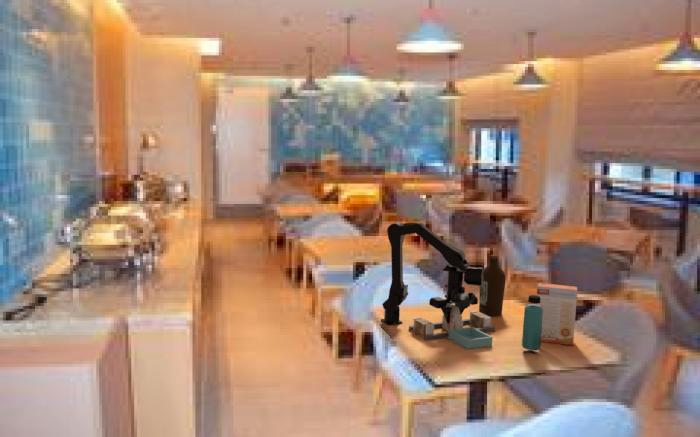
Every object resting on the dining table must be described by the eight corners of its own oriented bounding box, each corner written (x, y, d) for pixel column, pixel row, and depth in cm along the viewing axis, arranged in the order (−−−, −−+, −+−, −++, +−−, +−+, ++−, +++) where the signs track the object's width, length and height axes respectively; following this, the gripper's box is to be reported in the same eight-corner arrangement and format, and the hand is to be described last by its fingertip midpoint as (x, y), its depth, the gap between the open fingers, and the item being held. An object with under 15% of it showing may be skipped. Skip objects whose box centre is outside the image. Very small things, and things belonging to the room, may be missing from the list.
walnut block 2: (470, 325, 250) (471, 313, 249) (479, 324, 252) (479, 312, 251) (480, 330, 244) (481, 317, 244) (488, 328, 246) (489, 316, 245)
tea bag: (451, 327, 246) (452, 302, 245) (461, 332, 240) (462, 307, 239) (443, 328, 245) (444, 303, 243) (452, 333, 239) (454, 307, 237)
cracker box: (573, 341, 235) (577, 286, 232) (573, 346, 229) (578, 289, 226) (533, 335, 240) (538, 281, 237) (532, 340, 234) (537, 285, 231)
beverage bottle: (541, 355, 218) (545, 299, 216) (521, 353, 220) (525, 297, 217) (539, 349, 225) (544, 294, 222) (520, 347, 226) (524, 292, 223)
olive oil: (496, 309, 274) (500, 252, 270) (507, 316, 263) (511, 257, 260) (473, 310, 271) (477, 252, 268) (484, 317, 261) (488, 257, 257)
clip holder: (408, 329, 241) (409, 317, 241) (475, 321, 255) (475, 309, 254) (426, 340, 230) (427, 326, 229) (495, 331, 243) (495, 318, 243)
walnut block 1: (414, 332, 239) (415, 319, 238) (423, 331, 240) (424, 318, 240) (422, 337, 233) (423, 324, 233) (432, 336, 235) (432, 323, 234)
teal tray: (448, 339, 232) (448, 329, 232) (471, 335, 237) (471, 326, 236) (468, 349, 221) (468, 340, 221) (491, 346, 226) (492, 337, 225)
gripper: (446, 290, 228) (444, 331, 231) (488, 286, 237) (485, 326, 239) (429, 282, 238) (427, 323, 241) (470, 279, 246) (467, 318, 249)
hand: (452, 322), depth 242 cm, fingers closed on tea bag, 4 cm apart
